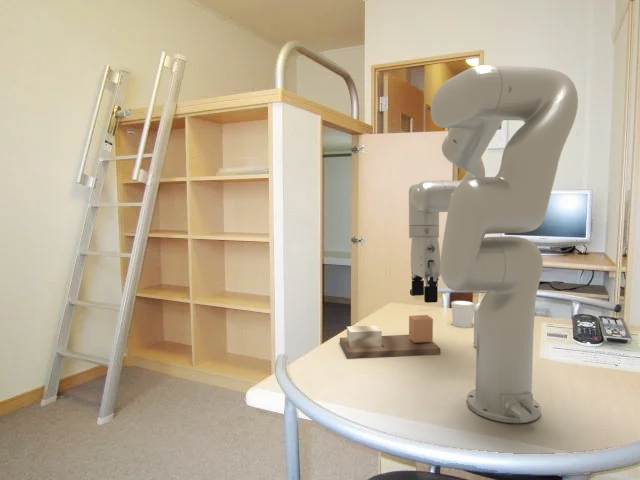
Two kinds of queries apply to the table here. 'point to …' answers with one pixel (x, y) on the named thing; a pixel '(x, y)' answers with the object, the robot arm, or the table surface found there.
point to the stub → (421, 328)
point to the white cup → (462, 313)
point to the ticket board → (382, 344)
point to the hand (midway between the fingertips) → (424, 298)
